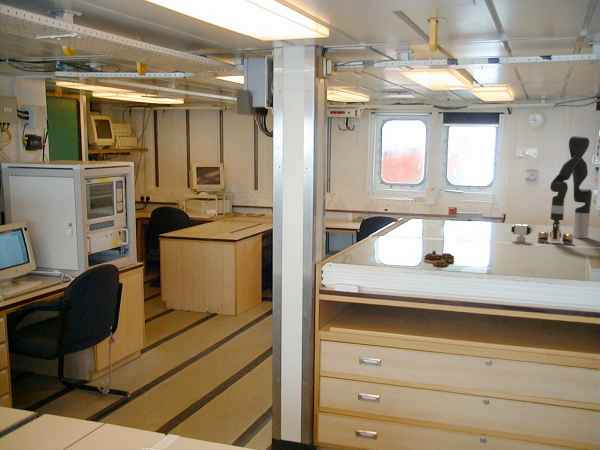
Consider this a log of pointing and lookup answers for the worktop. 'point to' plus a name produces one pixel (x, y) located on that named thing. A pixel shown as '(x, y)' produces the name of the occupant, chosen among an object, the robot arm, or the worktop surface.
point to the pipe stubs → (566, 238)
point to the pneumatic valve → (521, 231)
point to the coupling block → (557, 235)
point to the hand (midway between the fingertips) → (555, 238)
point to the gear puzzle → (439, 259)
